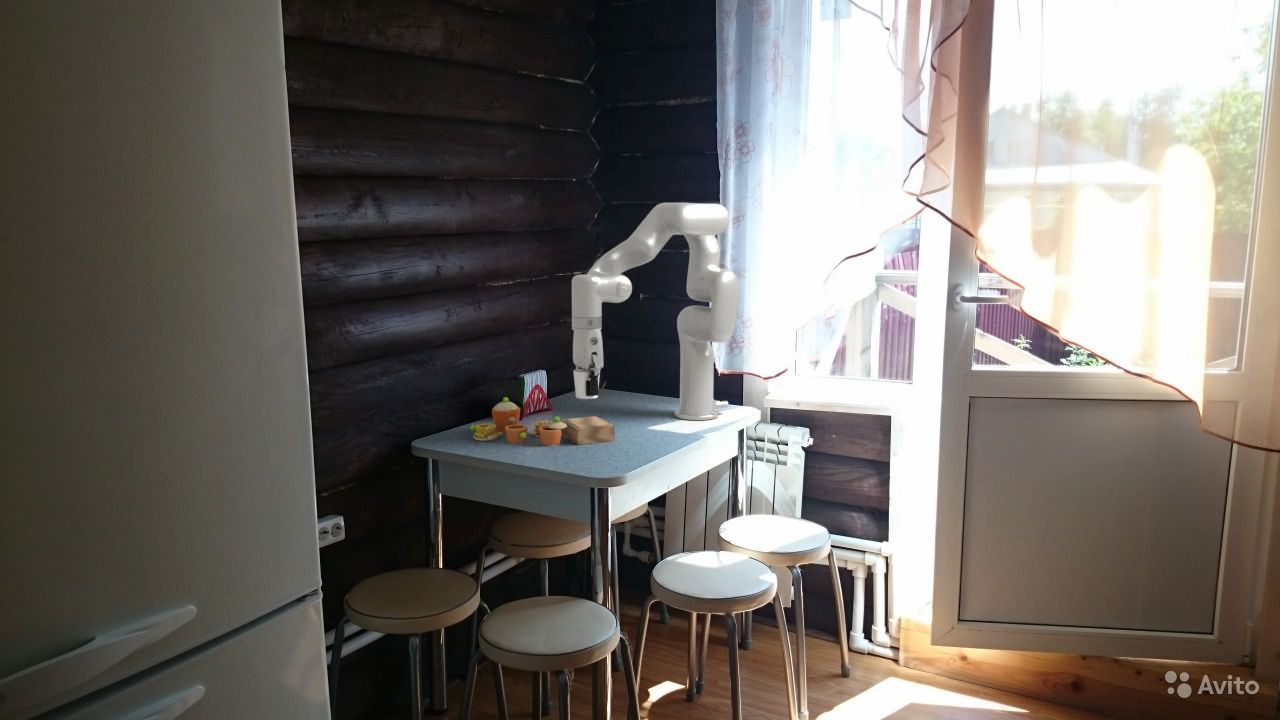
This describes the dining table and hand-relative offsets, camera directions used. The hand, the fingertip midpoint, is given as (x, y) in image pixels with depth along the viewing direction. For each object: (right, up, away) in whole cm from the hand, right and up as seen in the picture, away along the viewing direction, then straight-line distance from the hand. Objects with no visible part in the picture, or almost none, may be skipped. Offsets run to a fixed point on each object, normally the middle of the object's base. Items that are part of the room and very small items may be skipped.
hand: (586, 392), depth 235 cm
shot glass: (0, -1, 0) cm, 1 cm away
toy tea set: (-16, -12, +2) cm, 21 cm away
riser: (0, -12, +2) cm, 12 cm away
